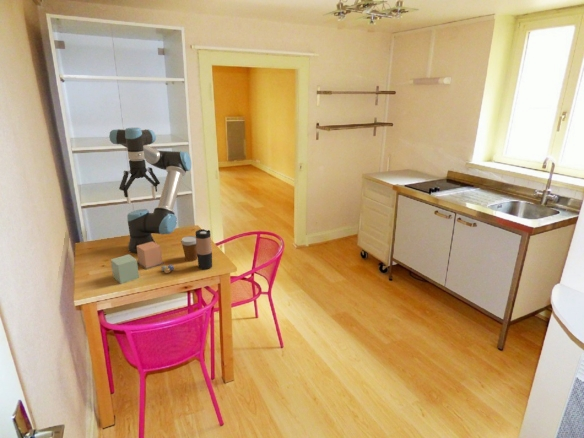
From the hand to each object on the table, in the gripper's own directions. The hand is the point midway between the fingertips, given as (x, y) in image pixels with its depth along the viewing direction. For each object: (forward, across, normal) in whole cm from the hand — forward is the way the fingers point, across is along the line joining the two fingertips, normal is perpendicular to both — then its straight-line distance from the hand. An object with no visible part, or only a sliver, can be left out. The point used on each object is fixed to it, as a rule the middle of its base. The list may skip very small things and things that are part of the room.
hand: (142, 200), depth 192 cm
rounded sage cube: (+35, -17, -10) cm, 40 cm away
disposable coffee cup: (+35, +18, -13) cm, 41 cm away
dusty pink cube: (+34, -1, -3) cm, 34 cm away
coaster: (+35, -1, -3) cm, 35 cm away
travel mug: (+35, +18, -27) cm, 48 cm away
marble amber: (+35, 0, -20) cm, 40 cm away
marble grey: (+35, 0, -16) cm, 38 cm away
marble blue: (+35, +3, -18) cm, 39 cm away
